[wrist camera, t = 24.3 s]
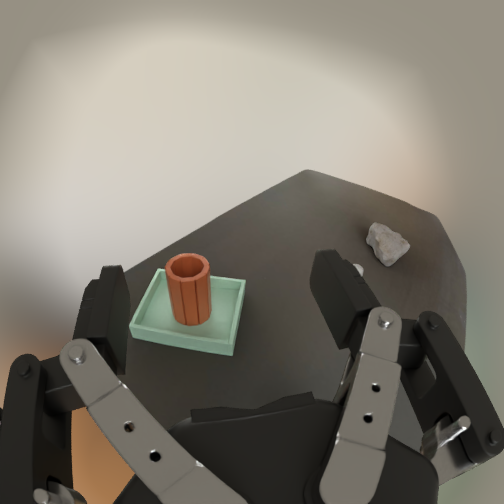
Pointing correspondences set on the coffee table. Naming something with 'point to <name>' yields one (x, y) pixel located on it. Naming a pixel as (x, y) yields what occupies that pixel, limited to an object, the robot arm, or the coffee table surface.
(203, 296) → the ring collar
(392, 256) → the stone
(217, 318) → the tray
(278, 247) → the coffee table surface
